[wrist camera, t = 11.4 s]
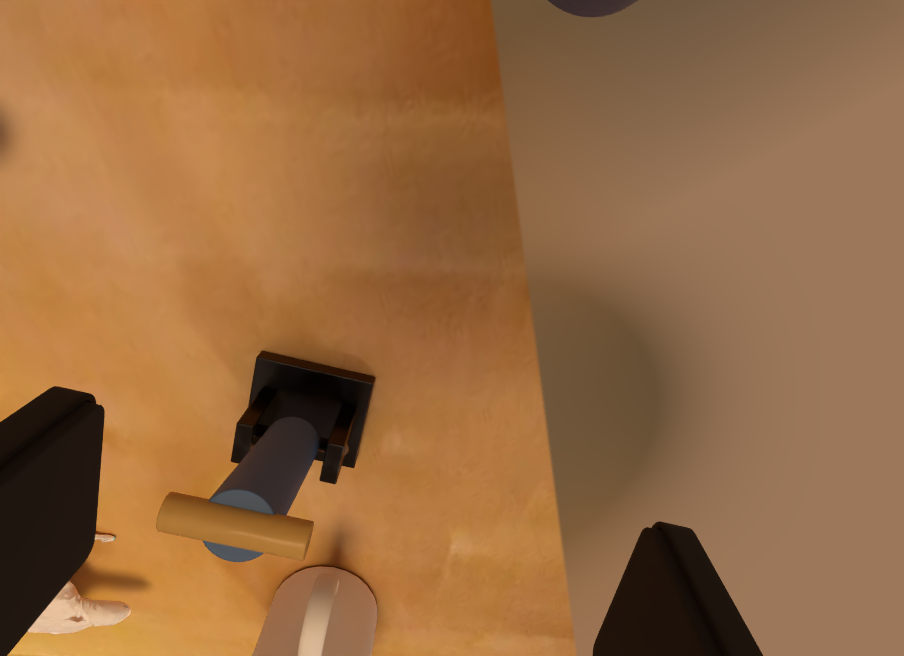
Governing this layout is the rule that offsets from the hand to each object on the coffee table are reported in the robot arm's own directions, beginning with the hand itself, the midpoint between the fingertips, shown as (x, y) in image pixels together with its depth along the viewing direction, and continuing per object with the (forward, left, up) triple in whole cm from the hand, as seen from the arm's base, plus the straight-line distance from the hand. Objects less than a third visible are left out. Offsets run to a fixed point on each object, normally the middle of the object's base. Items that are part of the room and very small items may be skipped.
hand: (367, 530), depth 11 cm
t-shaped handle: (+10, -5, -18) cm, 22 cm away
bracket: (+13, -5, -29) cm, 33 cm away
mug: (+27, -1, -30) cm, 40 cm away
